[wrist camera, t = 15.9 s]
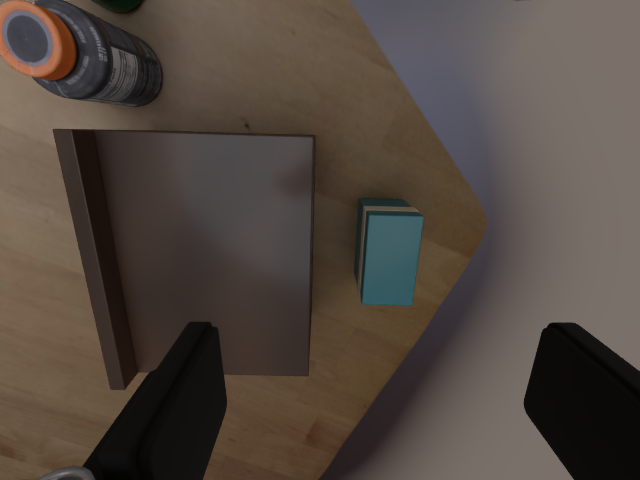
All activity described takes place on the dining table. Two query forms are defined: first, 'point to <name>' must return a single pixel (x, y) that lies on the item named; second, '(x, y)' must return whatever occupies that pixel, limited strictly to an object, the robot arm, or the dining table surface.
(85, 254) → the shelf
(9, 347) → the dining table surface
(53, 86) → the pill bottle
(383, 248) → the block
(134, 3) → the soda can
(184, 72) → the dining table surface
